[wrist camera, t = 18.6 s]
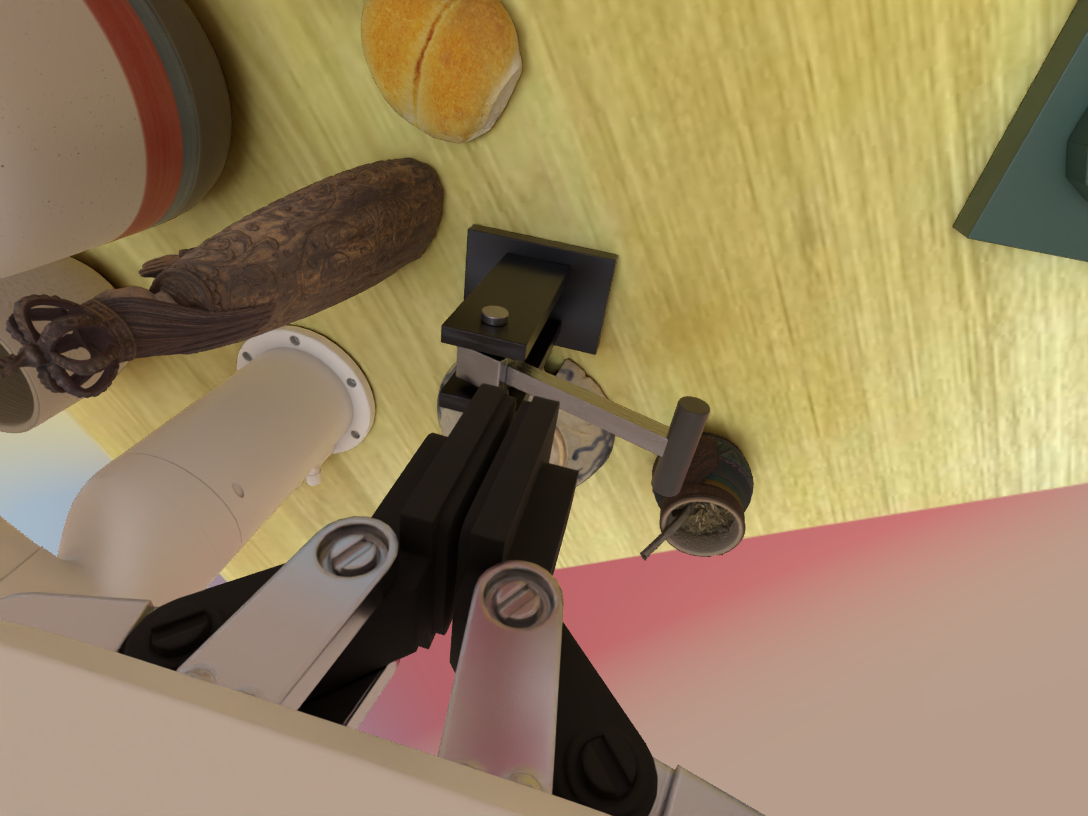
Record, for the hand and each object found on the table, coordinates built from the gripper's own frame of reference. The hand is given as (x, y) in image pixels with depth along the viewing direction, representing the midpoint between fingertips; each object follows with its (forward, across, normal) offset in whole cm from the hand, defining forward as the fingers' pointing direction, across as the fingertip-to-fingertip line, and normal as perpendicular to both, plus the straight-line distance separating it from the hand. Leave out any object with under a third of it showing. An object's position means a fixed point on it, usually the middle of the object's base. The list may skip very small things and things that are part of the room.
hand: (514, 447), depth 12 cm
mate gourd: (+27, -10, +19) cm, 35 cm away
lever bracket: (+27, +5, +8) cm, 29 cm away
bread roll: (+27, +12, -5) cm, 30 cm away
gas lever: (+16, 0, +8) cm, 17 cm away
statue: (+27, +16, +5) cm, 32 cm away
